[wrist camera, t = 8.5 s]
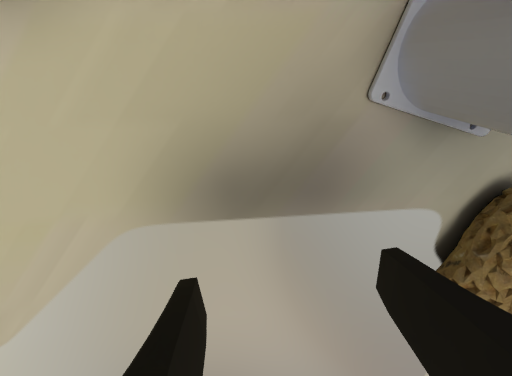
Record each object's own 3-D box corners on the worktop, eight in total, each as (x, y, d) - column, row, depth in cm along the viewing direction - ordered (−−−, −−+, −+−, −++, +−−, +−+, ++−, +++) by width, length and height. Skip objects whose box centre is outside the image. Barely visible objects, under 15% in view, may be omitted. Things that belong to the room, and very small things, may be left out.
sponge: (461, 167, 22) (360, 362, 25) (605, 201, 15) (438, 462, 19) (530, 202, 27) (439, 358, 31) (659, 238, 20) (522, 433, 24)
